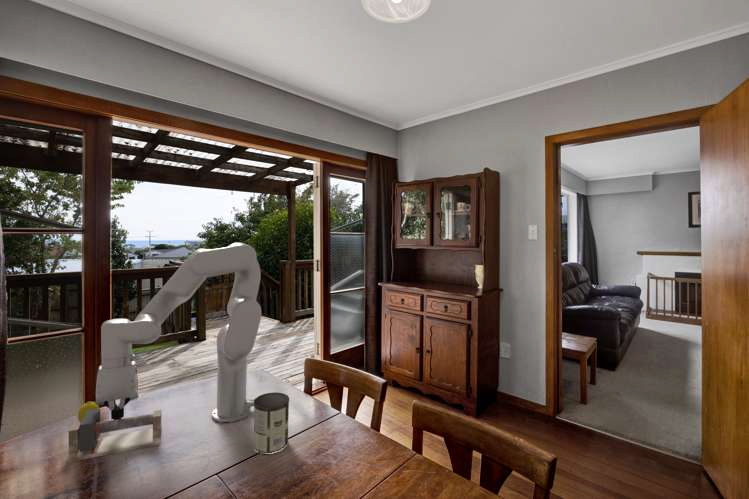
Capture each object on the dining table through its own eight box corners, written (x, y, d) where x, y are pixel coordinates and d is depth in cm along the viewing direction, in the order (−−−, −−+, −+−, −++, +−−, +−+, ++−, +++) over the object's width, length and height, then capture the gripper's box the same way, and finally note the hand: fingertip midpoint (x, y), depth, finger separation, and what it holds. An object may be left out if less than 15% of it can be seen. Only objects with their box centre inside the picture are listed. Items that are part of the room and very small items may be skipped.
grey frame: (100, 433, 110) (100, 408, 110) (93, 449, 102) (93, 423, 102) (88, 435, 109) (87, 410, 108) (79, 452, 101) (79, 425, 100)
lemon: (87, 431, 115) (87, 406, 114) (73, 429, 116) (73, 404, 115) (104, 422, 120) (104, 398, 120) (90, 420, 121) (90, 396, 121)
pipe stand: (161, 429, 117) (162, 406, 117) (159, 444, 109) (159, 419, 109) (75, 444, 107) (75, 419, 107) (65, 462, 99) (65, 435, 99)
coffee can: (269, 432, 118) (269, 389, 117) (295, 441, 113) (296, 396, 113) (245, 449, 108) (246, 402, 108) (272, 459, 104) (273, 410, 103)
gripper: (147, 353, 116) (148, 410, 117) (89, 360, 110) (90, 419, 111) (144, 361, 110) (145, 421, 111) (82, 368, 103) (83, 432, 104)
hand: (117, 420), depth 111 cm, fingers closed
